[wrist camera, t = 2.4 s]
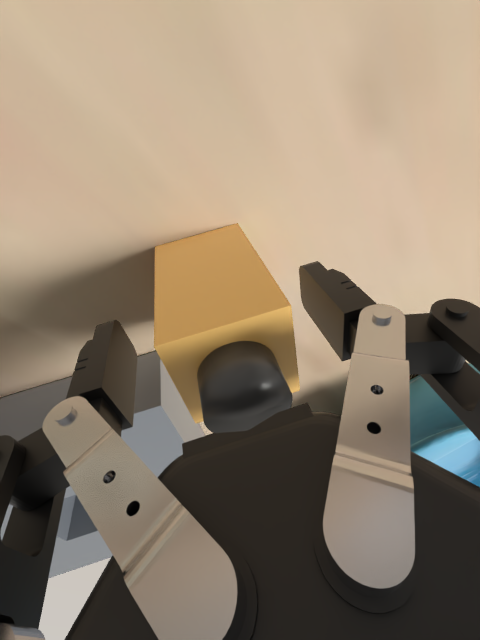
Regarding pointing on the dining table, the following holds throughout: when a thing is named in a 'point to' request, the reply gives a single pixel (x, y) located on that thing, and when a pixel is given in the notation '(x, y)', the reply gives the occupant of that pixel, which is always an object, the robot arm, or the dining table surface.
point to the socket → (143, 438)
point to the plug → (224, 330)
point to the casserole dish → (442, 433)
